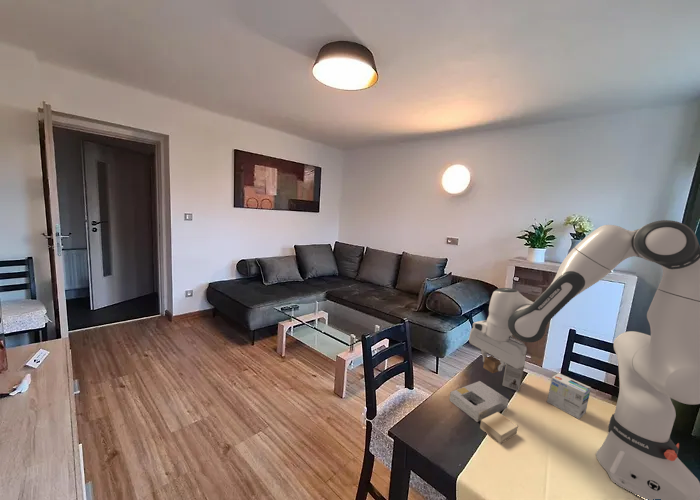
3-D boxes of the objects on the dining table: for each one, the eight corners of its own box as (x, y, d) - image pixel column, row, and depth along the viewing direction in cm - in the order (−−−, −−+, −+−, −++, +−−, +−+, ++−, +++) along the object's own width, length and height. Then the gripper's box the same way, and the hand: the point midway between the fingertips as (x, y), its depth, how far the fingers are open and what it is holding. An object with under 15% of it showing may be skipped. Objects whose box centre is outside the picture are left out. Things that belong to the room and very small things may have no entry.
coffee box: (504, 375, 128) (510, 341, 125) (520, 381, 124) (527, 346, 122) (501, 385, 120) (508, 349, 117) (519, 392, 116) (526, 355, 114)
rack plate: (507, 408, 106) (508, 399, 106) (477, 422, 98) (479, 412, 97) (478, 388, 116) (479, 380, 116) (449, 400, 108) (450, 391, 107)
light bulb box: (585, 413, 107) (592, 387, 105) (579, 420, 103) (585, 392, 101) (553, 396, 115) (558, 371, 114) (545, 402, 112) (551, 376, 110)
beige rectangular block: (516, 434, 94) (518, 426, 93) (499, 443, 89) (501, 435, 89) (496, 419, 100) (497, 411, 99) (479, 427, 95) (481, 419, 95)
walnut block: (499, 371, 107) (501, 361, 106) (492, 373, 105) (494, 363, 104) (489, 365, 110) (491, 355, 110) (483, 367, 108) (484, 357, 108)
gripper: (532, 342, 98) (525, 380, 100) (479, 319, 115) (474, 351, 117) (522, 346, 95) (514, 384, 97) (469, 321, 112) (463, 354, 114)
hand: (491, 366), depth 107 cm, fingers closed on walnut block, 4 cm apart
